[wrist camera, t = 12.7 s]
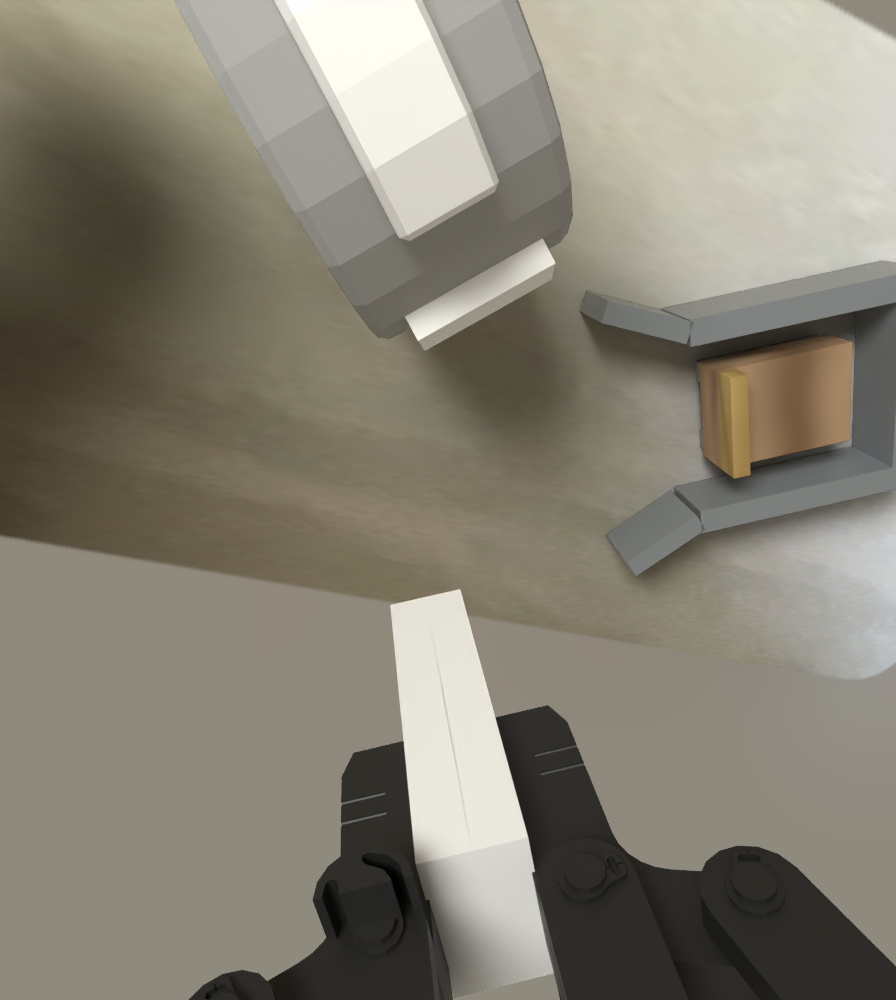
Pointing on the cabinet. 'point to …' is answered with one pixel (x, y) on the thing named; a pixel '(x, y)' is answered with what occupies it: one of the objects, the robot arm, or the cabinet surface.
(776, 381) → the tan block yellow end
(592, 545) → the cabinet surface
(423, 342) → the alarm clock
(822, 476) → the bay
